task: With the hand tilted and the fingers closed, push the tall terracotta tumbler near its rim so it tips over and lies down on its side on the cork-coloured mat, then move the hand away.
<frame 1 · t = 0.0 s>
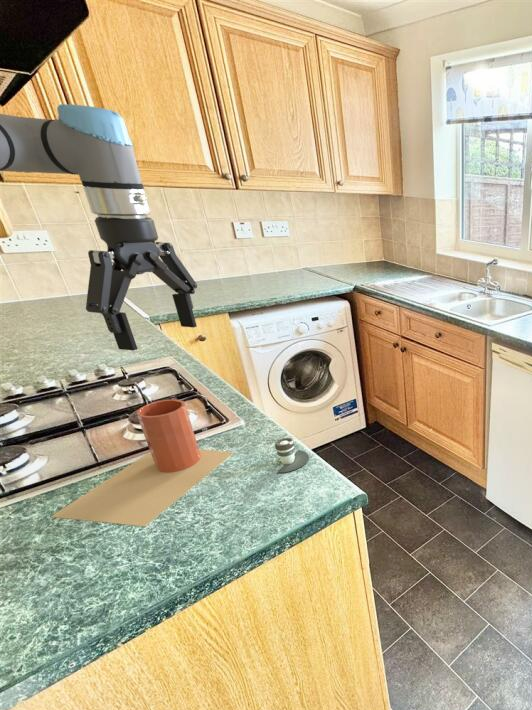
hand: (161, 337, 79), 24 cm above the counter, tool pointing down, fingers open, 13 cm apart
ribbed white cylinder: (288, 463, 85), on the counter
tumbler: (179, 461, 82), resting on mat
mat: (153, 482, 77), on the counter
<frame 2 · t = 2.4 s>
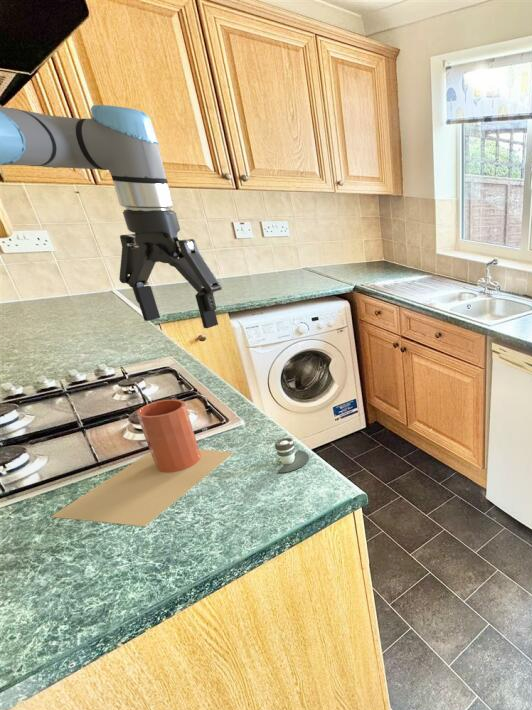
hand: (181, 322, 84), 24 cm above the counter, tool pointing down, fingers open, 13 cm apart
nothing on the counter moved.
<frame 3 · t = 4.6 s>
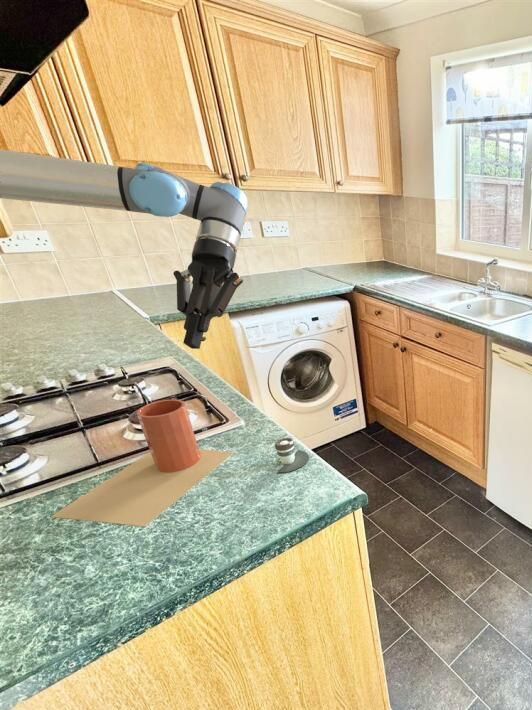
hand: (191, 345, 83), 21 cm above the counter, tool tilted 45°, fingers closed
nothing on the counter moved.
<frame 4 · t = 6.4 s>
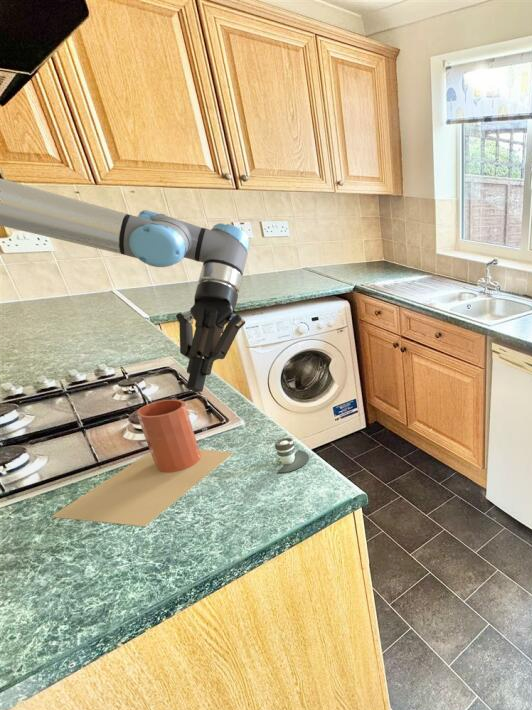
hand: (194, 389, 84), 12 cm above the counter, tool tilted 45°, fingers closed
nothing on the counter moved.
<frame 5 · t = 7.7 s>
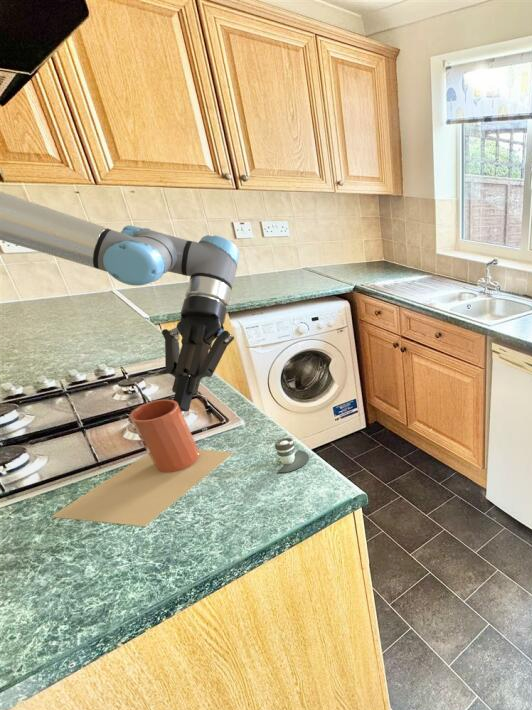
hand: (180, 409, 81), 10 cm above the counter, tool tilted 45°, fingers closed
tumbler: (178, 459, 82), point 1 cm above the counter, tilted 7°, touching gripper, mat
everything else where it was.
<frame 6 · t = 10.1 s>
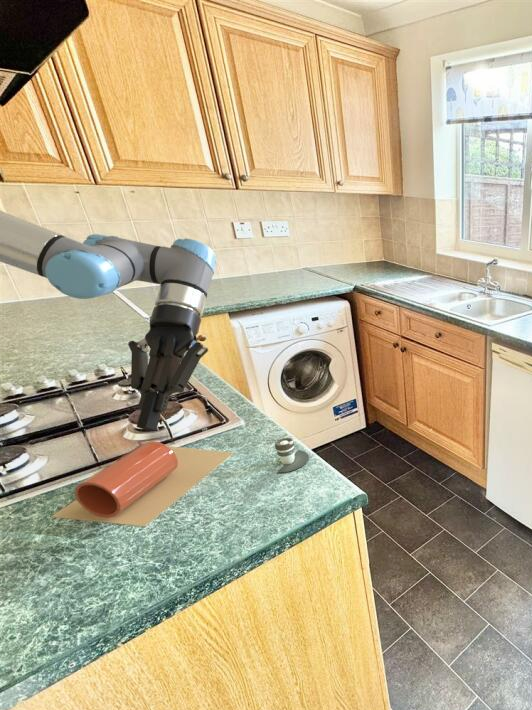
hand: (146, 428, 74), 10 cm above the counter, tool tilted 45°, fingers closed
tumbler: (159, 457, 77), point 4 cm above the counter, tilted 90°, touching mat
everything else where it was.
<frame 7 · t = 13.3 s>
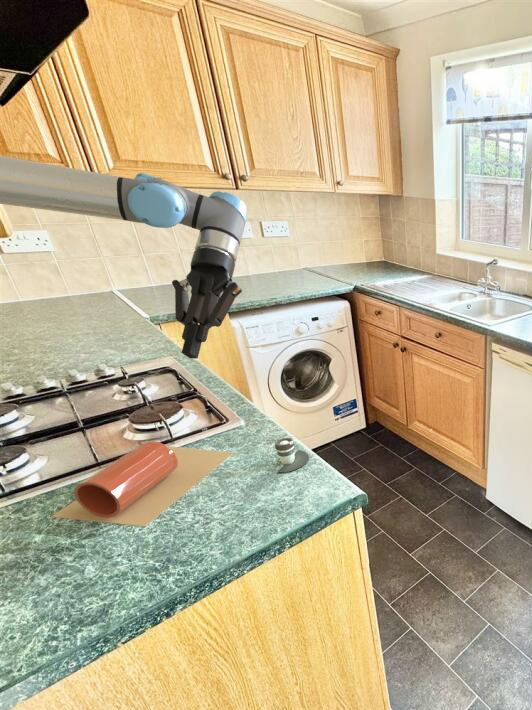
hand: (189, 355, 83), 19 cm above the counter, tool tilted 45°, fingers closed
nothing on the counter moved.
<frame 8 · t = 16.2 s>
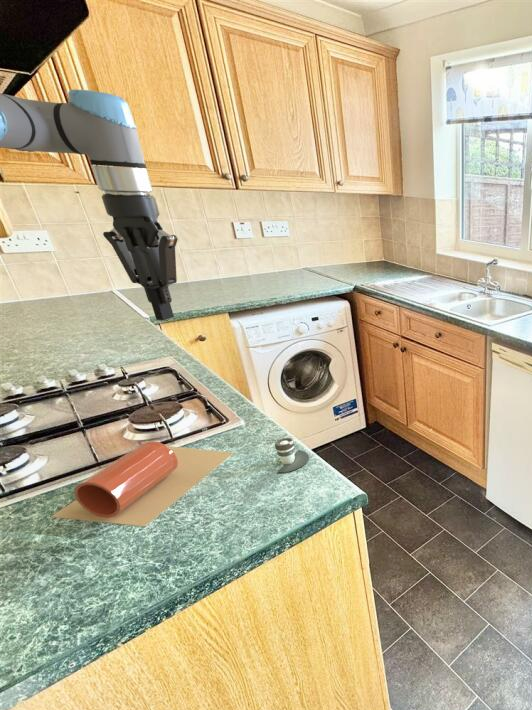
hand: (165, 318, 86), 24 cm above the counter, tool pointing down, fingers closed
nothing on the counter moved.
at the end: tumbler tilted 90°; tumbler inside the target area (0.5 cm from its centre), point 3.9 cm above the counter; the gripper is holding nothing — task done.
